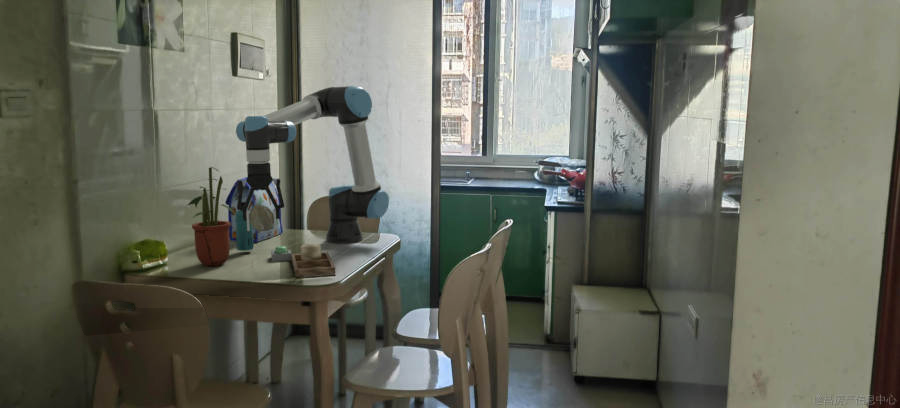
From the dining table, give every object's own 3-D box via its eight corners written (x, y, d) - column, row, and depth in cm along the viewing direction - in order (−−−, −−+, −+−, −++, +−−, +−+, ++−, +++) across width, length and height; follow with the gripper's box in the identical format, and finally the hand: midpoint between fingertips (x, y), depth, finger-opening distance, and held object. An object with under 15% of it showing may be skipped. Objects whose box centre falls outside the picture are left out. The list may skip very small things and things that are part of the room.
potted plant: (200, 260, 256) (195, 166, 252) (243, 260, 257) (238, 165, 252) (185, 272, 239) (178, 170, 234) (231, 271, 240) (225, 170, 235)
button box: (290, 258, 259) (290, 249, 258) (291, 262, 252) (291, 253, 251) (271, 259, 257) (271, 250, 256) (272, 264, 250) (271, 254, 250)
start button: (286, 256, 257) (286, 245, 256) (287, 258, 253) (286, 248, 252) (275, 257, 256) (275, 246, 255) (276, 259, 252) (275, 248, 251)
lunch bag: (251, 232, 314) (248, 173, 310) (285, 233, 310) (282, 173, 306) (223, 242, 292) (220, 178, 288) (259, 243, 288) (256, 179, 284)
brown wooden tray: (328, 260, 255) (327, 252, 255) (335, 276, 231) (335, 267, 231) (291, 262, 252) (291, 254, 251) (295, 279, 228) (295, 270, 228)
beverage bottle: (249, 254, 266) (246, 203, 263) (233, 254, 267) (230, 202, 265) (257, 251, 272) (254, 200, 270) (241, 250, 274) (239, 200, 271)
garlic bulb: (270, 238, 232) (272, 212, 228) (244, 235, 232) (245, 208, 227) (276, 225, 241) (277, 200, 237) (251, 222, 240) (252, 196, 236)
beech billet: (320, 259, 252) (319, 243, 251) (322, 264, 245) (321, 247, 244) (300, 261, 250) (300, 244, 249) (301, 265, 243) (301, 248, 242)
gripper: (290, 160, 238) (293, 225, 241) (226, 162, 233) (230, 229, 236) (291, 162, 231) (294, 229, 234) (225, 164, 226) (229, 233, 229)
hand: (262, 229), depth 235 cm, fingers closed on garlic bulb, 8 cm apart
